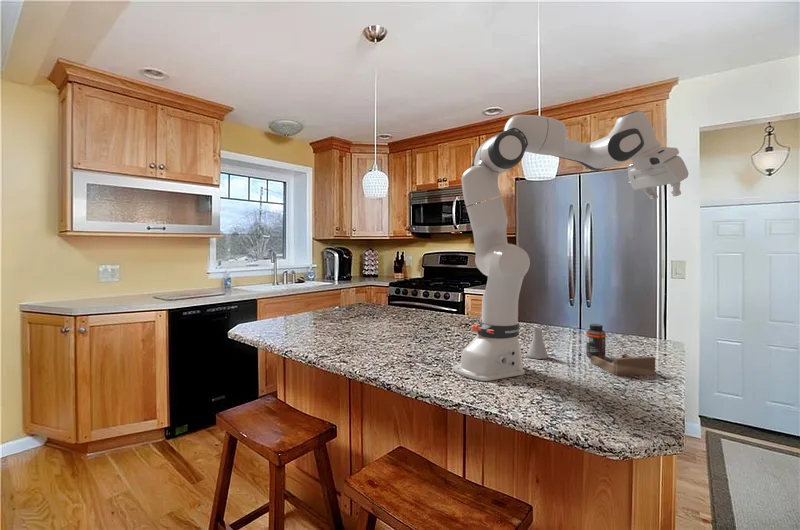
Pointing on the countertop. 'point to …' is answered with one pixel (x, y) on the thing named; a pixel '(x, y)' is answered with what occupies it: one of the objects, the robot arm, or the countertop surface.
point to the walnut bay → (627, 365)
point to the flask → (537, 345)
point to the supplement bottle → (596, 341)
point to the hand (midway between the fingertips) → (665, 197)
